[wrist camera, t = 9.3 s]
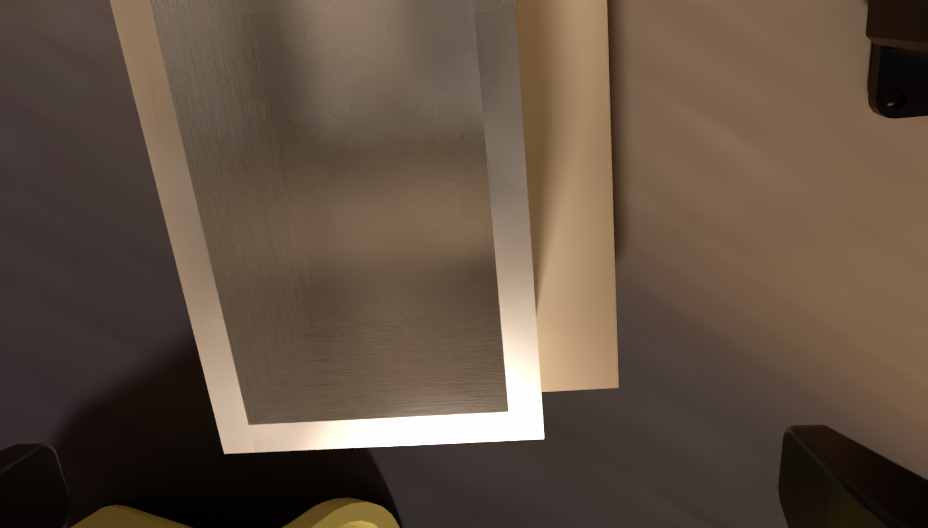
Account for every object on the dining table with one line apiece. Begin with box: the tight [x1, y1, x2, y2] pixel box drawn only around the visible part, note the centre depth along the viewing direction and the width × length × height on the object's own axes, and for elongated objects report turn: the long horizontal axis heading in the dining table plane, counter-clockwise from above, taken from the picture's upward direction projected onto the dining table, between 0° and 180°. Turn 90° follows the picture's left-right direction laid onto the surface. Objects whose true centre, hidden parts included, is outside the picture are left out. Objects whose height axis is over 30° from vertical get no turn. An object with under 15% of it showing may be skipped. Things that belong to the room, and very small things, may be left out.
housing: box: [110, 0, 544, 454], centre depth 14 cm, size 10×6×5 cm, turn 6°
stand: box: [515, 0, 618, 392], centre depth 17 cm, size 10×14×3 cm
